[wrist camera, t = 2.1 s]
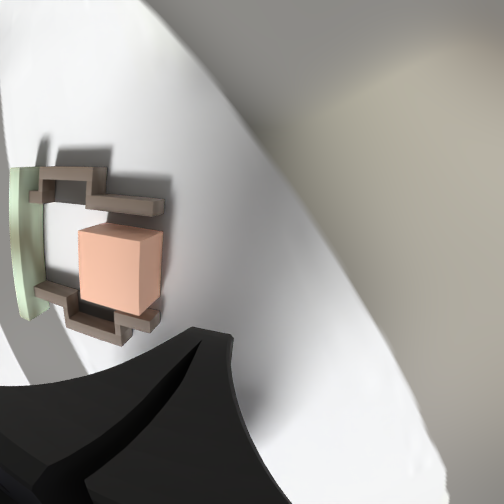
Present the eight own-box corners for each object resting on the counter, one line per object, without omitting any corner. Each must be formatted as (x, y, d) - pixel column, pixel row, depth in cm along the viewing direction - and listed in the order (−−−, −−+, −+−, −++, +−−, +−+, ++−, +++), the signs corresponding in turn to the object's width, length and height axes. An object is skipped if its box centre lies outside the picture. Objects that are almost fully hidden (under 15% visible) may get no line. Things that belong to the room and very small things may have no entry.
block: (160, 295, 18) (139, 315, 15) (107, 282, 18) (80, 298, 15) (164, 231, 17) (140, 241, 14) (107, 221, 17) (78, 230, 14)
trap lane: (160, 343, 18) (144, 363, 16) (40, 304, 19) (20, 316, 17) (167, 170, 16) (147, 169, 13) (34, 166, 17) (10, 167, 14)
